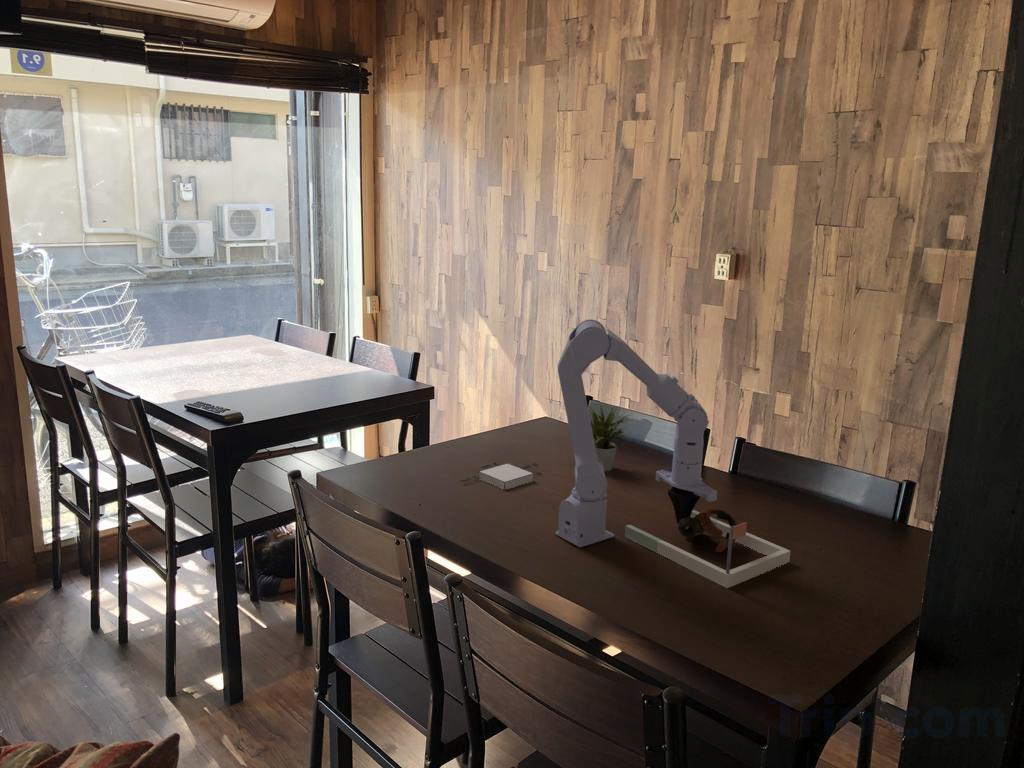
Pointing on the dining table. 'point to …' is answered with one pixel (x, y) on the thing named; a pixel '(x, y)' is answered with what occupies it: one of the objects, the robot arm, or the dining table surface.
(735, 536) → the open rectangular rail frame
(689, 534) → the brown piece
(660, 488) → the dining table surface
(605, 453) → the house plant
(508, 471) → the container
